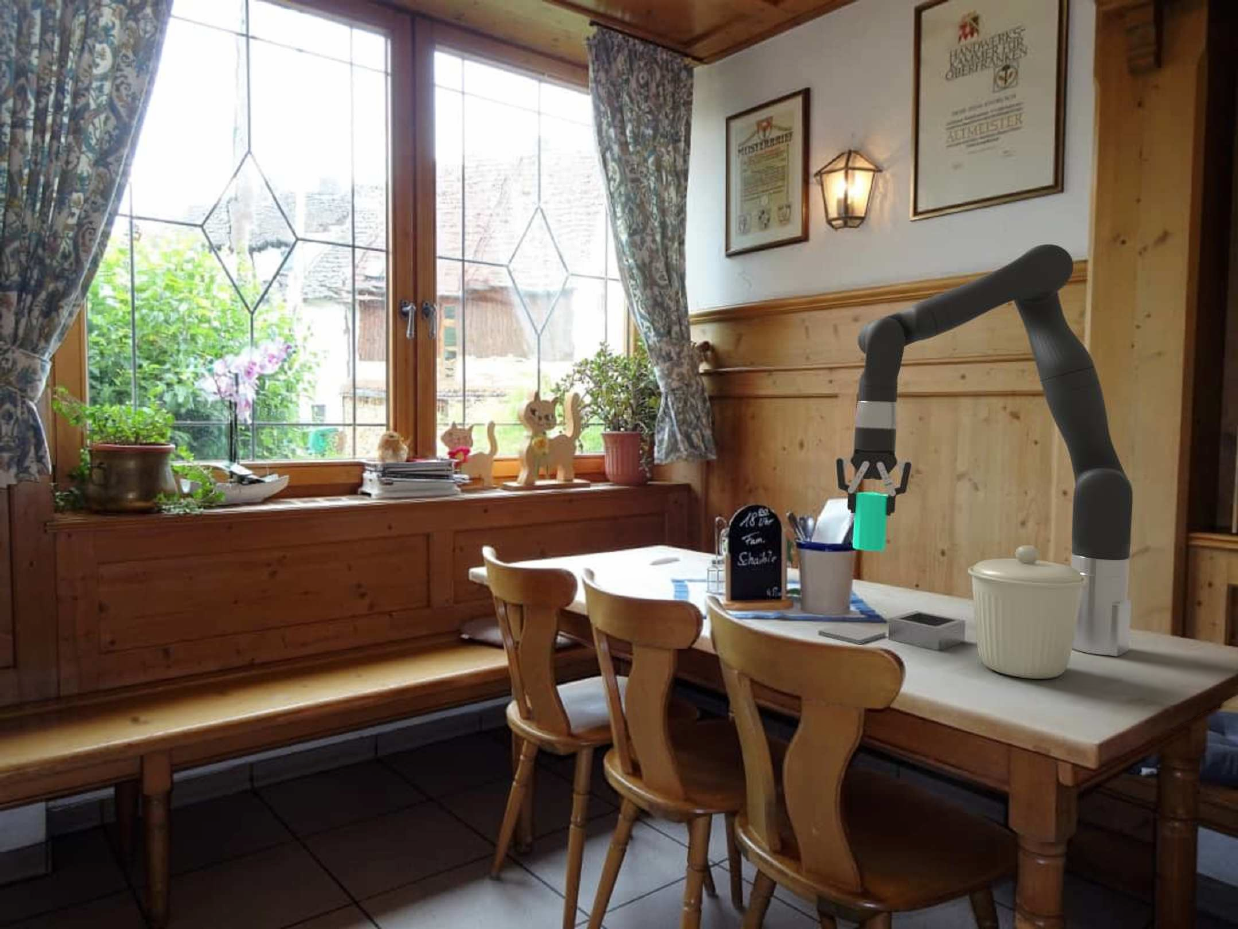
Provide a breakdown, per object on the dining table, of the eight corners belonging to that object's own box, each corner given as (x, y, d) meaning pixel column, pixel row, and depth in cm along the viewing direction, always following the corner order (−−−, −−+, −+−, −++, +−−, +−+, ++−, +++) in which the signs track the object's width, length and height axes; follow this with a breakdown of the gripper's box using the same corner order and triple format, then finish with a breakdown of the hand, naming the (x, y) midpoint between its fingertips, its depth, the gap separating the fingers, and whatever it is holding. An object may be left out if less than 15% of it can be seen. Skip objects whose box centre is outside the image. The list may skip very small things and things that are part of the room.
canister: (1078, 695, 132) (1084, 558, 131) (954, 674, 142) (959, 547, 141) (1087, 666, 148) (1093, 544, 146) (974, 649, 157) (979, 534, 156)
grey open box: (964, 641, 163) (965, 620, 162) (937, 650, 156) (938, 629, 156) (915, 630, 170) (916, 610, 170) (888, 639, 163) (888, 618, 163)
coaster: (885, 636, 166) (885, 632, 166) (859, 644, 160) (859, 640, 160) (845, 627, 172) (845, 623, 172) (818, 634, 166) (818, 630, 166)
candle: (871, 552, 161) (875, 487, 160) (845, 546, 165) (849, 484, 165) (891, 549, 164) (895, 486, 163) (866, 544, 169) (869, 483, 168)
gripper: (915, 427, 164) (910, 514, 166) (838, 423, 169) (833, 509, 170) (915, 428, 157) (910, 519, 158) (834, 424, 162) (829, 513, 163)
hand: (870, 513), depth 164 cm, fingers closed on candle, 6 cm apart
